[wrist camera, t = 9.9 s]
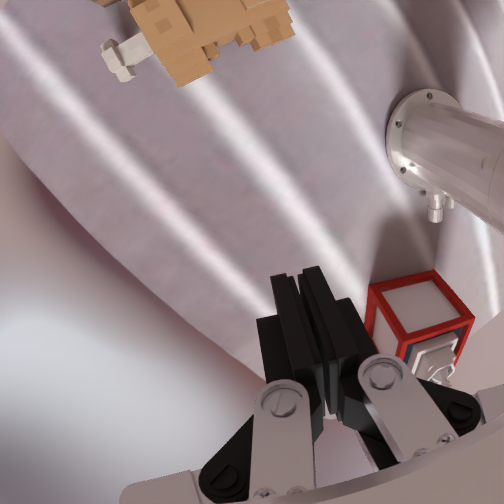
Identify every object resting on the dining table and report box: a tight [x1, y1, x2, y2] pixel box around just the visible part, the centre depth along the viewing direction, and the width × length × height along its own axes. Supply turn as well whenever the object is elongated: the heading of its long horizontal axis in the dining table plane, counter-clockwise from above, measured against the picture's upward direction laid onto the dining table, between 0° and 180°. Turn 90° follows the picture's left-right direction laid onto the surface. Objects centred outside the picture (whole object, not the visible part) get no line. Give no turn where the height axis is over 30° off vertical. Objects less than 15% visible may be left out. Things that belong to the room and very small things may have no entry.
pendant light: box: [364, 270, 475, 388], centre depth 33 cm, size 11×11×30 cm
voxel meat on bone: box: [100, 0, 295, 87], centre depth 21 cm, size 10×18×10 cm, turn 116°
